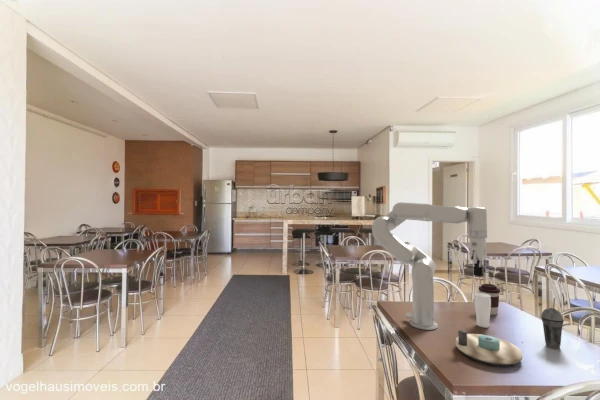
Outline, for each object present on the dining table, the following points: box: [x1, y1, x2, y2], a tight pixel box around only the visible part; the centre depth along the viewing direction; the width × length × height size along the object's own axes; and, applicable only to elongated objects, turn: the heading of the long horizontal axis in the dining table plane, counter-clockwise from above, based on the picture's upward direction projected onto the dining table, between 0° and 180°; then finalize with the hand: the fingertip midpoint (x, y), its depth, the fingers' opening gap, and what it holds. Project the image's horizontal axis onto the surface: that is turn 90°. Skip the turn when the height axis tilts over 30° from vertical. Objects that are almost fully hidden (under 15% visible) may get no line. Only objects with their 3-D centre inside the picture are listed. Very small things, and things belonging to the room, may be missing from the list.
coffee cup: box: [478, 283, 501, 316], centre depth 164 cm, size 10×10×15 cm
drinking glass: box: [474, 292, 491, 329], centre depth 146 cm, size 7×7×15 cm
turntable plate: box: [455, 329, 523, 365], centre depth 118 cm, size 22×22×6 cm
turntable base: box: [463, 353, 516, 367], centre depth 118 cm, size 18×18×2 cm
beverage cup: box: [540, 297, 564, 350], centre depth 124 cm, size 7×7×20 cm
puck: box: [478, 334, 500, 351], centre depth 117 cm, size 7×7×3 cm
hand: (478, 275), depth 135 cm, fingers closed
